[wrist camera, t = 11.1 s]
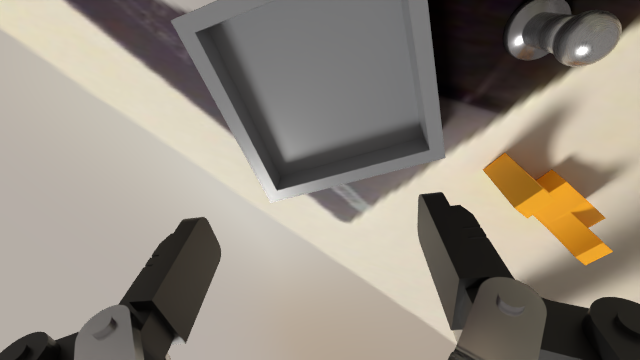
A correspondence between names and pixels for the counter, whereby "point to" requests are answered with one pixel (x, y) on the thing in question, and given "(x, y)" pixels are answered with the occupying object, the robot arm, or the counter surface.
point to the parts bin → (320, 86)
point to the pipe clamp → (551, 206)
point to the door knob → (560, 33)
